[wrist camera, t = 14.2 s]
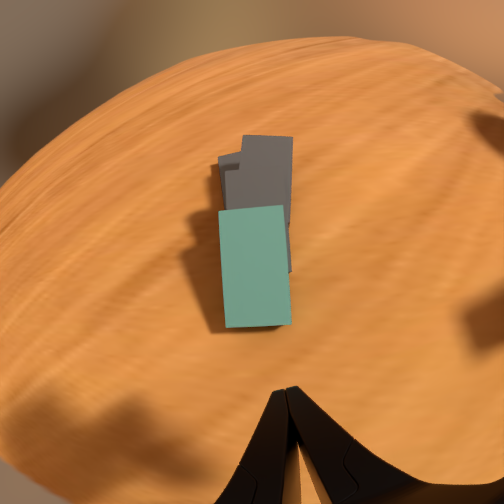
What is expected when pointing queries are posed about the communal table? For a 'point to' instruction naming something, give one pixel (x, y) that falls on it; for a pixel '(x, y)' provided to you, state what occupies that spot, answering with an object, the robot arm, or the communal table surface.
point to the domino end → (227, 169)
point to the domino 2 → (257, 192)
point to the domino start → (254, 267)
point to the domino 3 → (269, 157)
